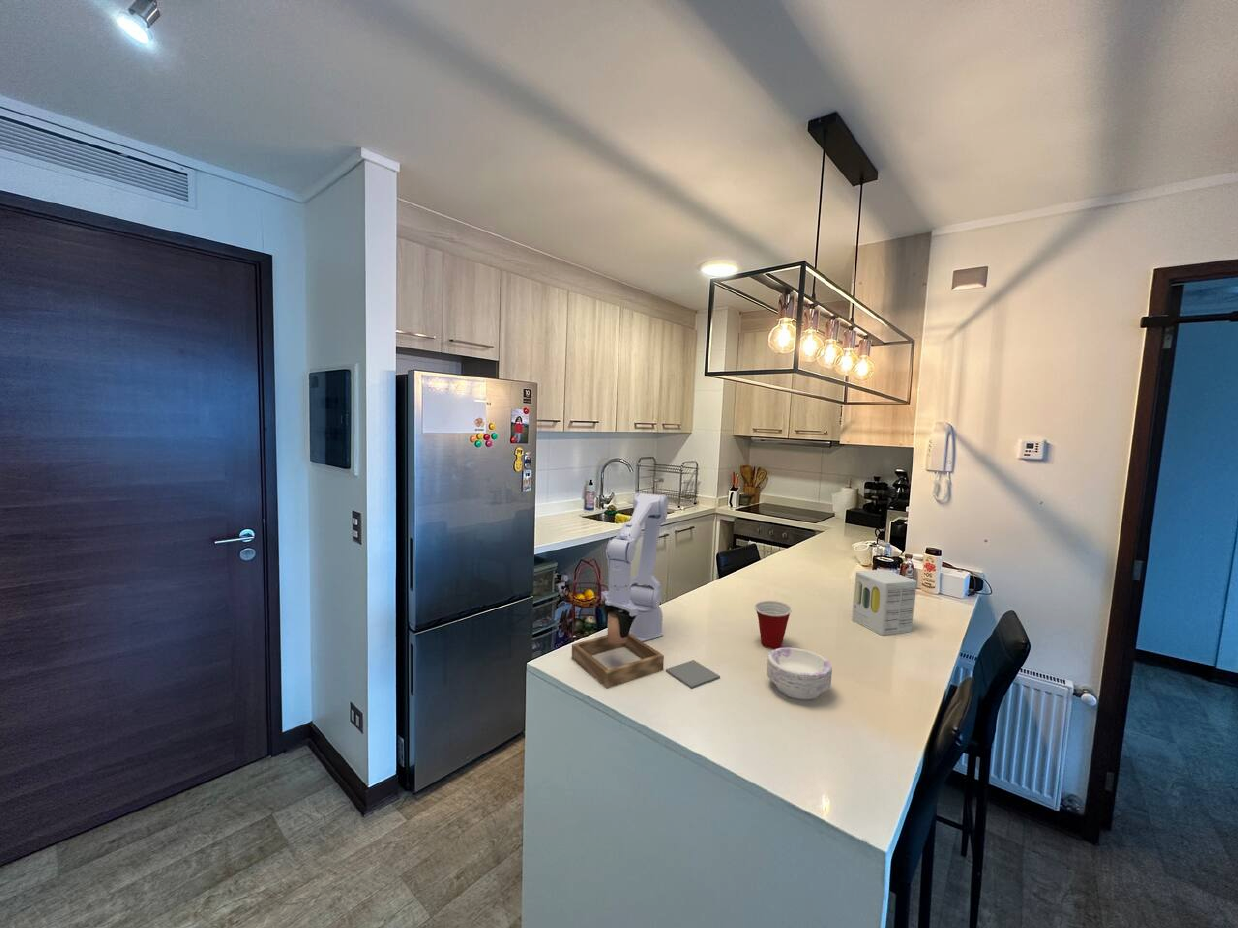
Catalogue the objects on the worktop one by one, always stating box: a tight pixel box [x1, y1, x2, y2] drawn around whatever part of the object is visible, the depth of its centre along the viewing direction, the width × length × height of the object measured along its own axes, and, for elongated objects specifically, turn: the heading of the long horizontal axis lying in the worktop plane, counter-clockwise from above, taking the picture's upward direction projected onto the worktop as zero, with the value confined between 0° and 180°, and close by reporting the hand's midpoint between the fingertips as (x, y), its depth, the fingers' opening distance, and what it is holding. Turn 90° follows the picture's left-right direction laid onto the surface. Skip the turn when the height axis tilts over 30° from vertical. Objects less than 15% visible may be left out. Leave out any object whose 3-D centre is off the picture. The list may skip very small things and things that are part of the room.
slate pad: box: [665, 659, 721, 690], centre depth 128 cm, size 10×10×1 cm
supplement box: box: [851, 568, 917, 636], centre depth 164 cm, size 13×13×18 cm
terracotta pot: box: [606, 609, 628, 644], centre depth 131 cm, size 6×6×7 cm
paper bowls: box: [766, 647, 833, 701], centre depth 122 cm, size 15×15×8 cm
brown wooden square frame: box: [571, 633, 665, 689], centre depth 132 cm, size 18×18×4 cm
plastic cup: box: [754, 600, 793, 650], centre depth 147 cm, size 11×11×12 cm
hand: (617, 632), depth 132 cm, fingers closed on terracotta pot, 5 cm apart
